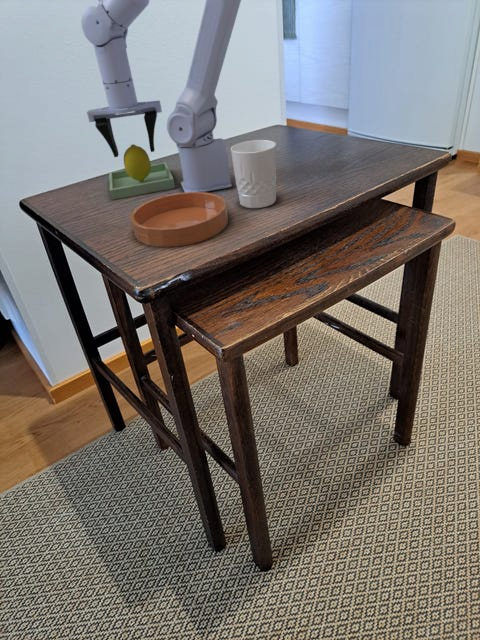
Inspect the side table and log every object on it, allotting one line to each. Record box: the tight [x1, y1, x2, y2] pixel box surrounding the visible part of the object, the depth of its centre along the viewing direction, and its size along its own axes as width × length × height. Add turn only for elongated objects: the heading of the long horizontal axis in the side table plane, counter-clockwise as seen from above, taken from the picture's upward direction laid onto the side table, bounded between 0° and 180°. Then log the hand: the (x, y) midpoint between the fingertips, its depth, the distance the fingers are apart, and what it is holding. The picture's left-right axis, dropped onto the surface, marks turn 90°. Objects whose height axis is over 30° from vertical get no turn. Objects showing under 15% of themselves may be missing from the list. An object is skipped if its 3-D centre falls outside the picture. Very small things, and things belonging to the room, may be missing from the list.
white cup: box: [230, 139, 278, 209], centre depth 80 cm, size 8×8×10 cm
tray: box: [108, 162, 176, 200], centre depth 98 cm, size 13×13×2 cm
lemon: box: [123, 143, 152, 182], centre depth 96 cm, size 6×6×8 cm
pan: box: [130, 191, 229, 248], centre depth 77 cm, size 16×16×3 cm
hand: (134, 153), depth 95 cm, fingers open, 7 cm apart
